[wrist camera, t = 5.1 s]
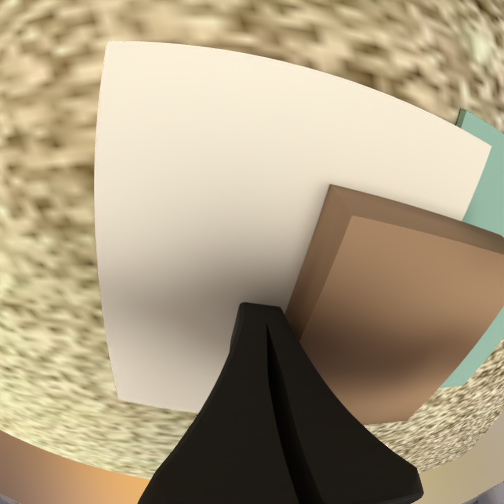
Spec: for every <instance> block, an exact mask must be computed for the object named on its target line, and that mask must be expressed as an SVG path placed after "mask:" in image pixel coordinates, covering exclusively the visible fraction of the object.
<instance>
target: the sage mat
mask: <svg viewBox="0 0 504 504" xmlns="http://www.w3.org/2000/svg"><path fill="white" fill-rule="evenodd" d="M456 126H457V127H459V128H461V129H463V130H464V131H466V132H468V133H470V134H472V135H473V136H475V137H477V138H479V139H480V140H482V141H484V142H486V143H487V144H489V145H491V146H492V147H491V150H490V153H489V156H488V158H487V161H486V164H485V167H484V169H483V172H482V174H481V177H480V180H479V182H478V185H477V187H476V190H475V192H474V194H473V197H472V199H471V201H470V204H469V206H468V208H467V211H466V213H465V215H464V217H463V219H462V221H463V222H465V223H468V224H471V225H474V226H477V227H480V228H483V229H486V230H488V231H491V232H494V233H497V234H499V235H501V236H503V237H504V134H503V133H501V132H500V131H498V130H497V129H495V128H494V127H492V126H491V125H489V124H488V123H486V122H485V121H483V120H481V119H480V118H478V117H477V116H475V115H473V114H472V113H470V112H468V111H466V110H463V109H461V111H460V114H459V117H458V120H457V124H456ZM503 338H504V306H503V308H502V309H501V311H500V312H499V314H498V315H497V317H496V318H495V319H494V321H493V322H492V324H491V325H490V326H489V328H488V329H487V331H486V332H485V333H484V335H483V336H482V337H481V339H480V340H479V341H478V342H477V344H476V345H475V346H474V348H473V349H472V350H471V351H470V353H469V354H468V355H467V356H466V358H465V359H464V360H463V361H462V362H461V364H460V365H459V366H458V367H457V368H456V369H455V371H454V372H453V373H452V374H451V375H450V376H449V377H448V379H447V380H446V381H445V382H444V383H443V384H442V385H441V386H440V387H439V388H444V387H452V386H460V385H464V384H465V383H466V382H467V380H468V379H469V378H470V377H471V376H472V375H473V374H474V373H475V372H476V370H477V369H478V368H479V367H480V366H481V365H482V364H483V362H484V361H485V360H486V359H487V358H488V356H489V355H490V354H491V353H492V352H493V350H494V349H495V348H496V347H497V345H498V344H499V343H500V342H501V340H502V339H503Z"/></svg>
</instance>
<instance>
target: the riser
mask: <svg viewBox="0 0 504 504" xmlns="http://www.w3.org/2000/svg"><path fill="white" fill-rule="evenodd" d="M491 147H492V146H491V145H489V144H487V143H486V142H484V141H482V140H480V139H479V138H477V137H475V136H473V135H472V134H470V133H468V132H466V131H464V130H463V129H461V128H459V127H457V126H455V125H453V124H451V123H449V122H447V121H445V120H443V119H441V118H439V117H437V116H435V115H433V114H431V113H429V112H427V111H425V110H422V109H420V108H418V107H416V106H414V105H411V104H409V103H407V102H404V101H402V100H400V99H397V98H395V97H392V96H390V95H388V94H385V93H382V92H380V91H377V90H375V89H372V88H369V87H367V86H364V85H361V84H358V83H355V82H352V81H349V80H346V79H343V78H340V77H337V76H334V75H331V74H328V73H324V72H321V71H317V70H314V69H310V68H307V67H303V66H299V65H295V64H291V63H287V62H283V61H279V60H275V59H270V58H266V57H261V56H256V55H251V54H246V53H240V52H235V51H229V50H222V49H216V48H208V47H201V46H192V45H183V44H172V43H158V42H138V41H107V46H106V52H105V58H104V64H103V71H102V79H101V86H100V95H99V105H98V115H97V128H96V145H95V173H94V207H95V236H96V253H97V266H98V277H99V287H100V296H101V305H102V312H103V320H104V327H105V333H106V339H107V345H108V351H109V357H110V362H111V367H112V372H113V377H114V382H115V386H116V391H117V395H118V399H119V400H123V401H128V402H132V403H137V404H142V405H148V406H153V407H159V408H165V409H171V410H177V411H184V412H191V413H199V412H200V410H201V408H202V407H203V405H204V403H205V402H206V400H207V398H208V396H209V395H210V393H211V391H212V389H213V387H214V385H215V383H216V381H217V379H218V377H219V375H220V373H221V371H222V368H223V366H224V364H225V361H226V359H227V357H228V354H229V350H230V341H231V336H232V332H233V328H234V324H235V320H236V316H237V312H238V308H239V304H241V303H243V302H248V303H255V304H263V305H271V306H279V307H281V309H282V310H283V312H284V314H285V311H286V309H287V306H288V303H289V301H290V298H291V295H292V293H293V290H294V287H295V284H296V282H297V279H298V276H299V273H300V271H301V268H302V265H303V262H304V259H305V257H306V254H307V251H308V248H309V245H310V242H311V239H312V236H313V234H314V231H315V228H316V225H317V222H318V219H319V216H320V213H321V210H322V207H323V204H324V201H325V198H326V195H327V192H328V188H329V185H330V184H333V185H337V186H341V187H345V188H349V189H353V190H357V191H361V192H365V193H369V194H372V195H376V196H380V197H383V198H387V199H391V200H394V201H398V202H401V203H405V204H408V205H412V206H415V207H418V208H422V209H425V210H428V211H431V212H434V213H438V214H441V215H444V216H447V217H450V218H453V219H456V220H459V221H462V219H463V217H464V215H465V213H466V211H467V208H468V206H469V204H470V201H471V199H472V197H473V194H474V192H475V190H476V187H477V185H478V182H479V180H480V177H481V174H482V172H483V169H484V167H485V164H486V161H487V158H488V156H489V153H490V150H491Z"/></svg>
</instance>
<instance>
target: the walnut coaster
mask: <svg viewBox="0 0 504 504" xmlns="http://www.w3.org/2000/svg"><path fill="white" fill-rule="evenodd" d="M503 306H504V237H503V236H501V235H499V234H497V233H494V232H491V231H488V230H486V229H483V228H480V227H477V226H474V225H471V224H468V223H465V222H463V221H459V220H456V219H453V218H450V217H447V216H444V215H441V214H438V213H434V212H431V211H428V210H425V209H422V208H418V207H415V206H412V205H408V204H405V203H401V202H398V201H394V200H391V199H387V198H383V197H380V196H376V195H372V194H369V193H365V192H361V191H357V190H353V189H349V188H345V187H341V186H337V185H333V184H330V185H329V188H328V192H327V195H326V198H325V201H324V204H323V207H322V210H321V213H320V216H319V219H318V222H317V225H316V228H315V231H314V234H313V236H312V239H311V242H310V245H309V248H308V251H307V254H306V257H305V259H304V262H303V265H302V268H301V271H300V273H299V276H298V279H297V282H296V284H295V287H294V290H293V293H292V295H291V298H290V301H289V303H288V306H287V309H286V311H285V316H286V318H287V320H288V322H289V324H290V326H291V328H292V330H293V331H294V333H295V335H296V337H297V339H298V340H299V342H300V344H301V346H302V347H303V349H304V351H305V352H306V354H307V356H308V357H309V359H310V360H311V362H312V364H313V365H314V367H315V368H316V370H317V371H318V373H319V374H320V375H321V377H322V378H323V380H324V381H325V383H326V384H327V385H328V387H329V388H330V389H331V390H332V392H333V393H334V394H335V396H336V397H337V398H338V399H339V400H340V402H341V403H342V404H343V405H344V406H345V407H346V408H347V410H348V411H349V412H350V413H351V414H352V415H353V416H354V417H355V418H356V419H357V420H358V421H359V422H360V423H361V424H362V425H368V424H379V423H388V422H396V421H404V420H407V419H409V418H410V417H411V416H412V415H413V414H414V413H415V412H416V411H417V410H418V409H419V408H420V407H421V406H422V405H423V404H424V403H425V402H426V401H427V400H428V399H429V398H430V397H431V396H432V395H433V394H434V393H435V392H436V391H437V389H438V388H439V387H440V386H441V385H442V384H443V383H444V382H445V381H446V380H447V379H448V377H449V376H450V375H451V374H452V373H453V372H454V371H455V369H456V368H457V367H458V366H459V365H460V364H461V362H462V361H463V360H464V359H465V358H466V356H467V355H468V354H469V353H470V351H471V350H472V349H473V348H474V346H475V345H476V344H477V342H478V341H479V340H480V339H481V337H482V336H483V335H484V333H485V332H486V331H487V329H488V328H489V326H490V325H491V324H492V322H493V321H494V319H495V318H496V317H497V315H498V314H499V312H500V311H501V309H502V308H503Z"/></svg>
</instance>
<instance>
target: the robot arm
mask: <svg viewBox="0 0 504 504" xmlns="http://www.w3.org/2000/svg"><path fill="white" fill-rule="evenodd" d="M423 493H424V492H423V488H422V484H421V480H420V477H419V474H418V471H417V468H416V467H415V466H413V465H412V464H410V463H409V462H407V461H406V460H405V459H403V458H402V457H400V456H399V455H397V454H396V453H395V452H393V451H392V450H391V449H389V448H388V447H387V446H386V445H384V444H383V443H382V442H381V441H380V440H378V439H377V438H376V437H375V436H374V435H373V434H371V433H370V432H369V431H368V430H367V429H366V428H365V427H364V426H363V425H362V424H361V423H360V422H359V421H358V420H357V419H356V418H355V417H354V416H353V415H352V414H351V413H350V412H349V411H348V410H347V408H346V407H345V406H344V405H343V404H342V403H341V402H340V400H339V399H338V398H337V397H336V396H335V394H334V393H333V392H332V390H331V389H330V388H329V387H328V385H327V384H326V383H325V381H324V380H323V378H322V377H321V375H320V374H319V373H318V371H317V370H316V368H315V367H314V365H313V364H312V362H311V360H310V359H309V357H308V356H307V354H306V352H305V351H304V349H303V347H302V346H301V344H300V342H299V340H298V339H297V337H296V335H295V333H294V331H293V330H292V328H291V326H290V324H289V322H288V320H287V318H286V316H285V314H284V312H283V310H282V309H281V307H279V306H271V305H263V304H255V303H248V302H243V303H241V304H239V308H238V312H237V316H236V320H235V324H234V328H233V332H232V336H231V341H230V350H229V354H228V357H227V359H226V361H225V364H224V366H223V368H222V371H221V373H220V375H219V377H218V379H217V381H216V383H215V385H214V387H213V389H212V391H211V393H210V395H209V396H208V398H207V400H206V402H205V403H204V405H203V407H202V408H201V410H200V412H199V413H198V415H197V417H196V418H195V420H194V421H193V423H192V424H191V426H190V427H189V429H188V430H187V431H186V433H185V434H184V436H183V437H182V439H181V440H180V441H179V443H178V444H177V446H176V447H175V448H174V450H173V451H172V452H171V453H170V455H169V456H168V457H167V458H166V460H165V461H164V462H163V463H162V464H161V466H160V467H159V468H158V469H157V470H156V472H155V473H154V475H153V477H152V479H151V480H150V482H149V484H148V486H147V487H146V489H145V491H144V492H143V494H142V496H141V498H140V499H139V502H138V504H411V503H413V502H415V501H417V500H418V499H420V498H421V497H422V496H423ZM0 504H20V503H18V502H16V501H14V500H12V499H10V498H8V497H6V496H4V495H2V494H0ZM463 504H504V481H503V482H501V483H500V484H498V485H496V486H494V487H492V488H490V489H489V490H487V491H486V492H483V493H482V494H480V495H478V496H477V497H476V498H473V499H472V500H469V501H467V502H465V503H463Z"/></svg>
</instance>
